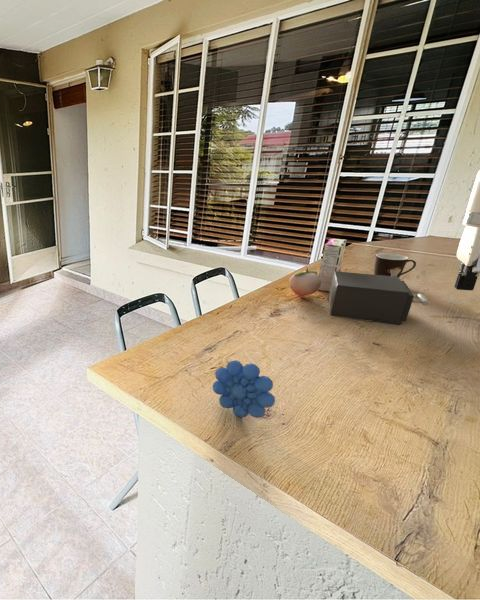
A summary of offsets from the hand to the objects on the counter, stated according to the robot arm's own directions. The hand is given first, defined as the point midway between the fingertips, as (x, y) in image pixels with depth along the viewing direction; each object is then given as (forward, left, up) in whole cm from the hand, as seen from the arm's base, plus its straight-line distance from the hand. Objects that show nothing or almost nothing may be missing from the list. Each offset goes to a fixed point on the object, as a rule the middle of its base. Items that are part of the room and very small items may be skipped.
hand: (463, 288), depth 92 cm
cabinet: (+20, 0, -10) cm, 22 cm away
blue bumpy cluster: (+44, +65, -10) cm, 79 cm away
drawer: (+16, 0, -9) cm, 18 cm away
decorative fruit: (+35, -6, -10) cm, 37 cm away
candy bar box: (+28, -20, -10) cm, 36 cm away
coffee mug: (+9, -31, -10) cm, 34 cm away
